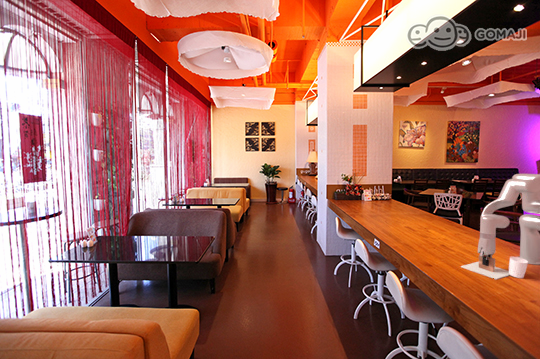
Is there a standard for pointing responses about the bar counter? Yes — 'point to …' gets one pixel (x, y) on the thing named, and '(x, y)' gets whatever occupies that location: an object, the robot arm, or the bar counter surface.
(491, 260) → the tile
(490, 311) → the bar counter surface
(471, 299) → the bar counter surface
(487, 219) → the robot arm
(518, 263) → the white cup
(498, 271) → the mat
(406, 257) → the bar counter surface
